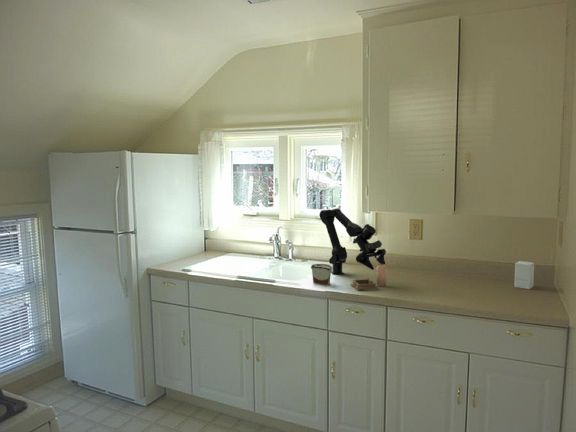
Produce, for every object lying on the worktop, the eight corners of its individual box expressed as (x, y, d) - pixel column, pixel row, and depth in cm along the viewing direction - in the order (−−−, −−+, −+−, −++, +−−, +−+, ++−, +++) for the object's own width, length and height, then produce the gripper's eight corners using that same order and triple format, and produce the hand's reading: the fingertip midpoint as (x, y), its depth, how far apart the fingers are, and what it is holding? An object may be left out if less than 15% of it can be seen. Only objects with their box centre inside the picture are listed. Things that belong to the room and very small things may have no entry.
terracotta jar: (375, 284, 234) (375, 264, 232) (383, 283, 235) (384, 263, 233) (378, 286, 229) (378, 266, 227) (387, 286, 230) (387, 265, 228)
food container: (336, 283, 237) (336, 265, 236) (330, 286, 232) (330, 267, 230) (316, 280, 244) (316, 262, 242) (310, 282, 239) (310, 264, 237)
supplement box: (533, 286, 225) (535, 262, 224) (529, 289, 220) (530, 265, 219) (518, 284, 231) (519, 260, 229) (513, 286, 225) (514, 262, 224)
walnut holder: (350, 285, 232) (350, 279, 232) (369, 284, 234) (369, 278, 234) (357, 291, 221) (357, 285, 221) (378, 289, 224) (378, 283, 223)
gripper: (359, 237, 229) (375, 261, 221) (383, 234, 240) (399, 256, 232) (349, 250, 236) (364, 274, 228) (372, 246, 247) (388, 268, 239)
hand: (379, 268), depth 232 cm, fingers open, 9 cm apart
